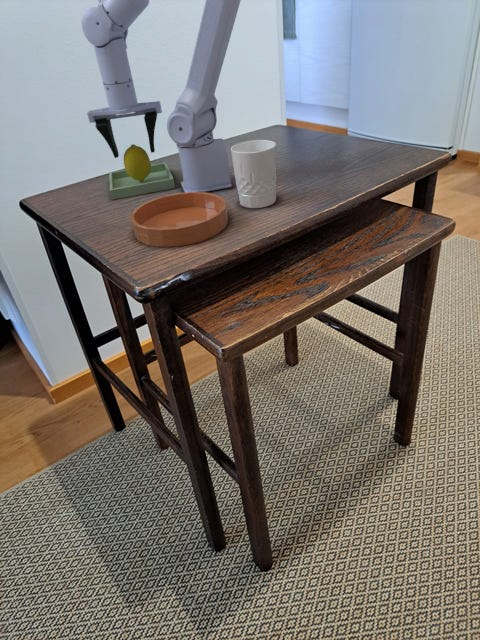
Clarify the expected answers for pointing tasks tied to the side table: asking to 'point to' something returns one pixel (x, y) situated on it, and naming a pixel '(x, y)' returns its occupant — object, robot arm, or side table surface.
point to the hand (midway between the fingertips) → (134, 153)
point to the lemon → (137, 163)
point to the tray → (128, 186)
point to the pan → (179, 219)
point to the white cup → (255, 172)
